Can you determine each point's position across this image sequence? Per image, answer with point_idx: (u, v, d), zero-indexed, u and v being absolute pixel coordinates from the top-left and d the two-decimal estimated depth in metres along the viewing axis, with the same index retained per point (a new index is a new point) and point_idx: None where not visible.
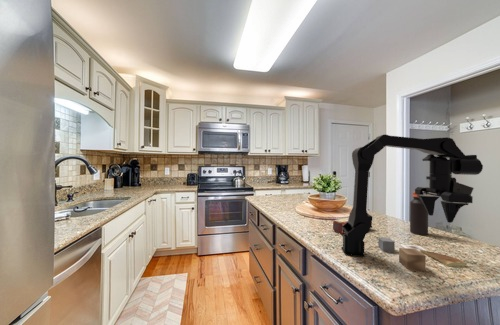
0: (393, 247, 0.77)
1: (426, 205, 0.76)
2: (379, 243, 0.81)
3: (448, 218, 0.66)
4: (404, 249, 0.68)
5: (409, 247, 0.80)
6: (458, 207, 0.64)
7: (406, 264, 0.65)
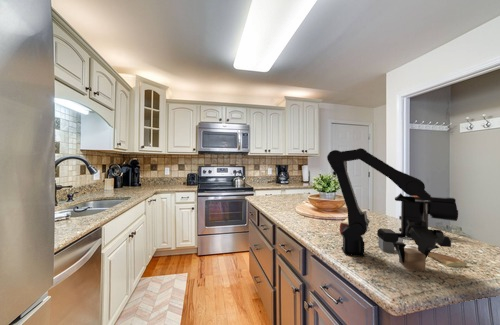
0: (393, 247, 0.77)
1: None
2: (379, 243, 0.81)
3: (399, 257, 0.68)
4: (404, 249, 0.68)
5: (409, 247, 0.80)
6: (398, 247, 0.66)
7: (407, 264, 0.65)
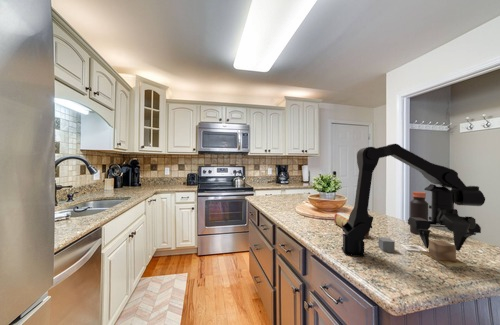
0: (393, 247, 0.77)
1: (454, 238, 0.71)
2: (379, 243, 0.81)
3: None
4: (434, 241, 0.72)
5: (409, 247, 0.80)
6: (423, 233, 0.71)
7: (437, 254, 0.69)
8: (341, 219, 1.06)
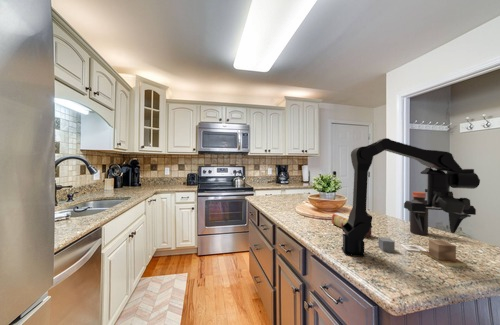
0: (393, 247, 0.77)
1: (450, 221, 0.72)
2: (379, 243, 0.81)
3: (419, 226, 0.73)
4: (434, 241, 0.73)
5: (409, 247, 0.80)
6: (418, 216, 0.71)
7: (437, 254, 0.69)
8: (340, 219, 1.05)
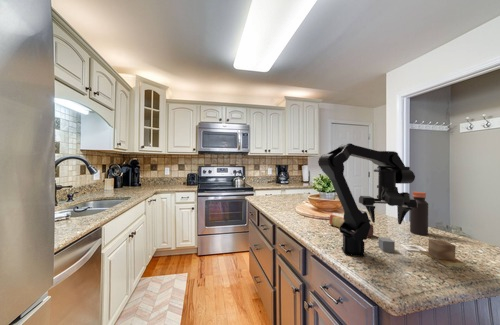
0: (393, 247, 0.77)
1: (398, 214, 0.80)
2: (379, 243, 0.81)
3: (371, 218, 0.81)
4: (434, 240, 0.73)
5: (409, 247, 0.80)
6: (369, 209, 0.80)
7: (437, 254, 0.70)
8: (340, 220, 1.04)
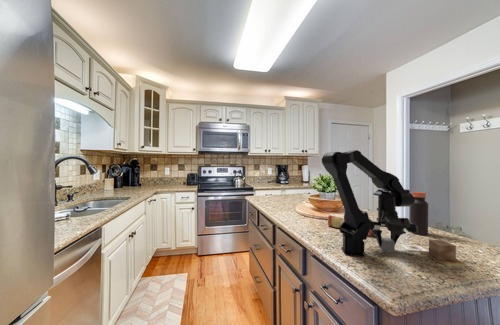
0: (393, 247, 0.77)
1: (391, 236, 0.80)
2: None
3: None
4: (434, 241, 0.73)
5: (409, 247, 0.80)
6: None
7: (438, 254, 0.70)
8: (340, 221, 1.03)
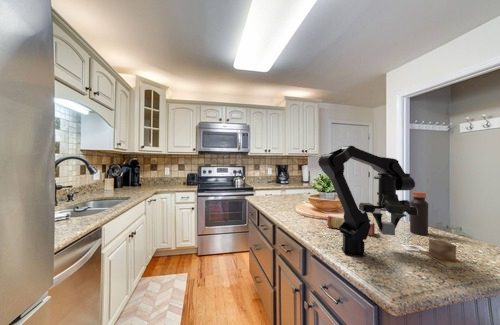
0: (393, 230, 0.77)
1: (391, 220, 0.80)
2: None
3: (378, 225, 0.81)
4: (434, 240, 0.72)
5: (409, 247, 0.80)
6: (376, 217, 0.79)
7: (438, 254, 0.69)
8: (341, 221, 1.02)
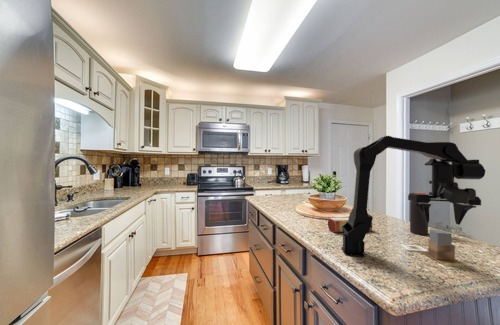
0: (450, 240, 0.69)
1: (455, 212, 0.71)
2: (431, 236, 0.73)
3: (424, 217, 0.72)
4: None
5: (409, 247, 0.80)
6: (423, 207, 0.71)
7: (436, 254, 0.70)
8: None
